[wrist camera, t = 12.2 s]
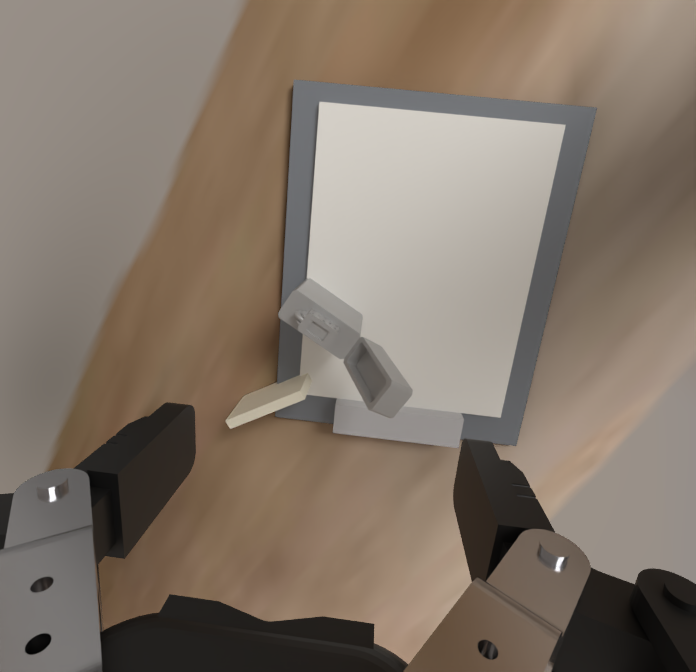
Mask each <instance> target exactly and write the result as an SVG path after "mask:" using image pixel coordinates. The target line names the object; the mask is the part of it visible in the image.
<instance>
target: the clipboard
mask: <svg viewBox="0 0 696 672" xmlns="http://www.w3.org/2000/svg"><path fill="white" fill-rule="evenodd" d="M596 110H597V108H594V107H583V106H572V105H562V104H551V103H540V102H529V101H518V100H508V99H497V98H486V97H475V96H465V95H454V94H443V93H432V92H421V91H411V90H400V89H389V88H378V87H368V86H357V85H346V84H335V83H324V82H314V81H303V80H294V86H293V104H292V122H291V140H290V158H289V176H288V194H287V212H286V230H285V248H284V266H283V284H282V302H281V308H282V306H283V305H284V303H285V302H286V300H287V299H288V297H289V296H290V294H291V293H292V291H293V290H294V289H295V288H297V287H298V286H299V285H300V284H301V283H302V282H303V281H304V280H306V279H308V278H311V279H312V280H314V281H315V282H317V283H318V284H319V285H321V286H322V287H324V288H325V289H327V290H328V291H329V292H331V293H332V294H334V295H335V296H336V297H338V298H339V299H341V300H342V301H344V302H345V303H346V304H348V305H349V306H351V307H352V308H354V309H355V310H356V311H358V312H359V313H361V314H362V317H363V320H362V328H361V335H360V337H364V338H366V339H368V340H370V341H372V342H374V343H376V344H378V345H380V346H382V348H383V349H384V350H385V352H386V353H387V355H388V356H389V357H390V359H391V360H392V362H393V363H394V364H395V366H396V367H397V369H398V370H399V371H400V373H401V374H402V376H403V377H404V378H405V380H406V381H407V383H408V384H409V385H410V387H411V388H412V390H413V392H412V396H411V397H410V398H409V400H408V401H407V402H406V403H405V404H404V406H403V407H402V408H401V409H400V410H399V412H398V413H397V414H396V415H395V416H394V418H388V417H385V416H383V415H380V414H378V413H375V412H373V411H370V410H368V408H367V406H366V404H365V403H364V401H363V399H362V397H361V395H360V393H359V391H358V389H357V387H356V386H355V384H354V382H353V380H352V378H351V376H350V374H349V372H348V371H347V369H346V367H345V365H344V363H343V362H344V359H339V358H337V357H336V356H334V355H333V354H331V353H330V352H329V351H327V350H326V349H324V348H323V347H321V346H320V345H318V344H317V343H315V342H314V341H312V340H311V339H309V338H308V337H307V336H305V335H304V334H302V333H301V332H299V331H298V330H296V329H295V328H293V327H292V326H290V325H289V324H287V323H286V322H285V321H283V320H282V319H281V320H280V338H279V356H278V374H277V384H279V383H281V382H284V381H286V380H289V379H291V378H294V377H296V376H299V375H300V376H302V375H304V374H307V373H308V374H309V376H310V378H311V380H312V383H311V385H310V388H309V390H308V393H307V395H306V398H305V400H302V401H300V402H297V403H295V404H292V405H290V406H287V407H285V408H282V409H280V410H277V411H275V417H281V418H290V419H298V420H306V421H314V422H323V423H331V424H334V425H333V433H338V434H346V435H354V436H363V437H371V438H379V439H387V440H395V441H404V442H412V443H420V444H428V445H436V446H445V447H453V448H459V443H460V439H463V440H464V439H465V438H467V439H475V440H484V441H491V442H492V443H496V444H505V445H513V446H516V444H517V440H518V436H519V432H520V428H521V424H522V419H523V415H524V411H525V407H526V403H527V398H528V394H529V390H530V386H531V382H532V378H533V373H534V369H535V365H536V361H537V357H538V352H539V348H540V344H541V340H542V336H543V332H544V327H545V323H546V319H547V315H548V311H549V307H550V302H551V298H552V294H553V290H554V286H555V281H556V277H557V273H558V269H559V265H560V261H561V256H562V252H563V248H564V244H565V240H566V236H567V231H568V227H569V223H570V219H571V215H572V210H573V206H574V202H575V198H576V194H577V190H578V185H579V181H580V177H581V173H582V169H583V164H584V160H585V156H586V152H587V148H588V144H589V139H590V135H591V131H592V127H593V123H594V119H595V114H596Z"/></svg>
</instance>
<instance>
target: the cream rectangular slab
mask: <svg viewBox="0 0 696 672" xmlns="http://www.w3.org/2000/svg"><path fill="white" fill-rule="evenodd" d="M311 383H312V380H311V378H310V376H309V374H308V373H307V374H304V375H302V376H300V375H299V376H296V377H294V378H291V379H289V380H286V381H284V382H281V383H279V384H277V382H276V383H274V384H271V385H269V386H266V387H264V388H261V389H259V390H257V391H254V392H252V393H249V394H247V395H244V396H243V397H242V399H241V400H240V401H239V403H238V404H237V406H236V407H235V408H234V410H233V411H232V412H231V414H230V415H229V416H228V418H227V419H226V420H225V421H226V423H227V425H228V426H229V428H230V429H232V428H234V427H237V426H239V425H242V424H244V423H247V422H249V421H252V420H254V419H257V418H259V417H262V416H265V415H267V414H270V413H272V412H275V411H277V410H280V409H282V408H285V407H287V406H290V405H292V404H295V403H297V402H300V401H302V400H305V398H306V395H307V393H308V390H309V388H310V385H311Z"/></svg>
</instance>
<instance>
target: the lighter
mask: <svg viewBox="0 0 696 672" xmlns="http://www.w3.org/2000/svg"><path fill="white" fill-rule="evenodd" d="M278 316H279V318H280V319H282V320H283V321H285V322H286V323H287V324H289V325H290V326H292V327H293V328H295V329H296V330H298V331H299V332H301V333H302V334H304V335H305V336H307V337H308V338H309V339H311V340H312V341H314V342H315V343H317V344H318V345H320V346H321V347H323V348H324V349H326V350H327V351H329V352H330V353H331V354H333V355H334V356H336V357H337V358H339V359H344V362H343V363H344V365H345V367H346V369H347V371H348V372H349V374H350V376H351V378H352V380H353V382H354V384H355V386H356V387H357V389H358V391H359V393H360V395H361V397H362V399H363V401H364V403H365V404H366V406H367V408H368V410H370V411H373V412H375V413H378V414H380V415H383V416H385V417H388V418H394V416H395V415H396V414H397V413H398V412H399V410H400V409H401V408H402V407H403V406H404V404H405V403H406V402H407V401H408V400H409V398H410V397H411V396H412V392H413V390H412V388H411V387H410V385H409V384H408V383H407V381H406V380H405V378H404V377H403V376H402V374H401V373H400V371H399V370H398V369H397V367H396V366H395V364H394V363H393V362H392V360H391V359H390V357H389V356H388V355H387V353H386V352H385V350H384V349H383V348H382V346H380V345H378V344H376V343H374V342H372V341H370V340H368V339H366V338H364V337H360V335H361V328H362V320H363V317H362V314H361V313H359V312H358V311H356V310H355V309H354V308H352V307H351V306H349V305H348V304H346V303H345V302H344V301H342V300H341V299H339V298H338V297H336V296H335V295H334V294H332V293H331V292H329V291H328V290H327V289H325V288H324V287H322V286H321V285H319V284H318V283H317V282H315V281H314V280H312V279H311V278H308V279H306V280H304V281H303V282H302V283H301V284H300V285H299V286H298V287H297V288H295V289H294V290H293V291H292V293H291V294H290V296H289V297H288V299H287V300H286V302H285V303H284V305H283V306H282V308H281V309H280V311H279V312H278Z"/></svg>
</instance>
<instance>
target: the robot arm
mask: <svg viewBox="0 0 696 672" xmlns="http://www.w3.org/2000/svg"><path fill="white" fill-rule="evenodd" d="M195 453H196V445H195V411H194V408H193V406H192V405H185V404H176V403H165V404H163V405H162V406H161V407H160V408H159V409H157V410H156V411H155V412H154V413H153V414H152V415H150V416H149V417H146V416H145V417H143V418H141V419H138V420H136V421H134V422H132V423H129V424H128V425H126V426H125V427H124V428H123V429H122V430H120V431H119V432H118V433H117V434H116V436H113V437H112V438H110V439H109V440H108V441H107V442H106V444H103V445H102V446H101V447H99V448H98V449H97V450H96V451H95V452H93V453H92V454H91V455H90V456H88V457H87V458H86V459H85V460H84V461H82V462H81V463H80V464H79V465H77V466H76V467H75V468H74V469H57V470H52V471H48V472H45V473H42V474H39V475H37V476H34V477H32V478H30V479H29V480H27V481H25V482H24V483H23V484H21V485H20V486H19V487H18V488H17V489H16V491H15V492H14V493H10V494H0V672H696V584H694V583H693V582H691V581H689V580H688V579H686V578H684V577H681V576H679V575H677V574H675V573H672V572H669V571H665V570H661V569H646V570H643V571H641V572H640V573H639V574H638V577H637V580H636V583H635V584H632V583H629V582H627V581H623V580H621V579H618V578H616V577H612V576H610V575H607V574H605V573H602V572H599V571H597V570H595V569H593V568H591V566H590V562H589V560H588V558H587V556H586V555H585V554H584V552H583V551H582V550H581V549H580V548H579V547H578V546H577V545H576V544H574V543H573V542H572V541H570V540H569V539H567V538H565V537H563V536H561V535H559V534H557V533H555V531H554V529H553V528H552V526H551V524H550V522H549V520H548V518H547V516H546V515H545V513H544V511H543V509H542V507H541V505H540V503H539V502H538V500H537V499H536V496H535V494H534V492H533V490H532V489H531V488H530V485H529V483H528V481H527V479H526V477H525V476H524V474H523V472H521V471H520V470H519V469H518V468H517V467H516V466H515V465H514V464H512V463H511V462H510V461H505V460H500V458H499V456H498V454H497V452H496V450H495V448H494V445H493V443H492V442H491V441H484V440H475V439H467V438H465V439H464V440H463V442H462V445H461V451H460V456H459V461H458V467H457V472H456V478H455V483H454V492H453V501H454V509H455V513H456V517H457V521H458V525H459V530H460V534H461V538H462V542H463V546H464V550H465V555H466V559H467V563H468V567H469V571H470V575H471V580H472V583H471V584H470V585H469V587H468V588H467V589H466V591H465V592H464V593H463V595H462V596H461V597H460V598H459V600H458V601H457V602H456V604H455V605H454V606H453V608H452V609H451V610H450V611H449V613H448V614H447V615H446V617H445V618H444V619H443V621H442V622H441V623H440V624H439V626H438V627H437V628H436V630H435V631H434V632H433V634H432V635H431V636H430V637H429V639H428V640H427V641H426V643H425V644H424V645H423V647H422V648H421V649H420V650H419V652H418V653H417V654H416V656H415V657H414V658H413V660H412V661H411V662H410V663H409V665H408V664H407V663H406V662H405V661H403V660H402V659H401V658H399V657H398V656H397V655H395V654H394V653H392V652H390V651H389V650H387V649H385V648H383V647H381V646H379V645H377V644H375V643H374V624H371V623H364V622H357V621H350V620H343V619H336V618H329V617H314V618H304V619H294V620H284V621H274V622H268V621H263V620H260V619H258V618H256V617H254V616H251V615H249V614H247V613H244V612H242V611H240V610H237V609H235V608H233V607H230V606H228V605H226V604H224V603H221V602H219V601H212V600H205V599H198V598H191V597H184V596H177V595H169V597H168V598H167V600H166V602H165V604H164V605H163V607H162V609H161V611H160V613H152V614H148V615H143V616H139V617H135V618H132V619H129V620H126V621H124V622H121V623H119V624H116V625H114V626H112V627H110V628H108V629H106V630H104V627H103V615H102V603H101V590H100V578H99V568H98V564H99V563H100V561H101V560H102V559H103V558H104V557H105V556H109V557H117V558H124V559H125V557H126V556H127V555H128V554H129V552H130V551H131V550H132V548H133V547H134V546H135V544H136V543H137V542H138V540H139V539H140V538H141V536H142V535H143V534H144V532H145V531H146V530H147V528H148V527H149V526H150V524H151V523H152V522H153V520H154V519H155V518H156V516H157V515H158V514H159V513H160V511H161V510H162V509H163V507H164V506H165V505H166V503H167V502H168V501H169V499H170V498H171V497H172V495H173V494H174V493H175V491H176V490H177V489H178V487H179V486H180V485H181V483H182V482H183V481H184V479H185V478H186V477H187V475H188V474H189V473H190V471H191V469H192V467H193V464H194V460H195Z"/></svg>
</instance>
